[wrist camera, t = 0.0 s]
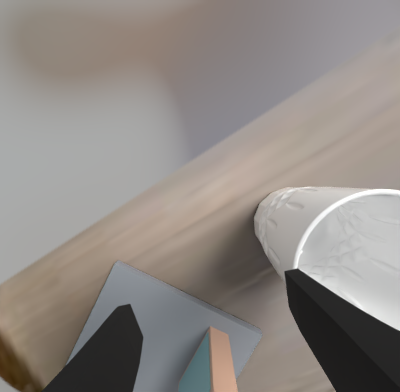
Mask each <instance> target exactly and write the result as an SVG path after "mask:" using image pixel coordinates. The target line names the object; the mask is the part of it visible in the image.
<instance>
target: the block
mask: <svg viewBox="0 0 400 392" xmlns="http://www.w3.org/2000/svg"><path fill="white" fill-rule="evenodd" d="M178 392H238V391H237V385H236V379H235V373H234V367H233V360H232V354H231V348H230V342H229V336H228V334H226V333H224V332H222V331H220V330H218V329H215V328H213V327H211V326H210V327H209V329H208V331H207V333H206V335H205V336H204V338H203V340H202V342H201V343H200V345H199V347H198V349H197V351H196V352H195V354H194V356H193V358H192V360H191V361H190V363H189V365H188V367H187V368H186V370H185V372H184V374H183V376H182V377H181V379H180V381H179V383H178Z"/></svg>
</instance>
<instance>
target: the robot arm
mask: <svg viewBox="0 0 400 392" xmlns="http://www.w3.org/2000/svg"><path fill="white" fill-rule="evenodd" d="M284 273H285V281H286V288H287V296H288V303H289V308H290V310H291V313H292V315H293V317H294V319H295V321H296V323H297V325H298V327H299V330H300V332H301V333H302V335H303V337H304V338H305V340H306V342H307V343H308V345H309V347H310V348H311V350H312V352H313V354H314V355H315V357H316V359H317V360H318V362H319V364H320V365H321V367H322V369H323V370H324V372H325V374H326V375H327V377H328V379H329V380H330V382H331V384H332V385H333V387H334V389H335V390H336V392H400V331H399V330H397V329H395V328H393V327H391V326H389V325H388V324H386V323H384V322H382V321H380V320H378V319H377V318H375V317H373V316H371V315H370V314H368V313H366V312H364V311H363V310H361V309H359V308H358V307H356V306H354V305H353V304H351V303H349V302H348V301H346V300H345V299H343V298H342V297H340V296H338V295H337V294H335V293H334V292H332V291H331V290H329V289H328V288H326V287H325V286H323V285H322V284H320V283H319V282H317V281H316V280H314V279H313V278H311V277H310V276H308V275H307V274H305V273H304V272H302V271H301V270H299V269H298V268H297V269H292V270H287V271H284ZM142 345H143V335H142V332H141V330H140V327H139V324H138V322H137V319H136V317H135V314H134V312H133V309H132V307H131V304H126V305H122V306H118V307H117V308H116V309H115V310H114V311H113V312H112V313H111V314H110V315H109V317H108V318H107V319H106V320H105V321H104V322H103V324H102V325H101V326H100V327H99V328H98V329H97V331H96V332H95V333H94V334H93V335H92V336H91V338H90V339H89V340H88V341H87V342H86V343H85V345H84V346H83V347H82V348H81V349H80V350H79V352H78V353H77V354H76V355H75V356H74V357H73V358H72V359H71V360H70V362H69V363H68V364H67V365H66V366H65V367H64V368H63V369H62V370H61V371H60V372H59V374H58V375H57V376H56V377H55V378H54V379H53V380H52V381H51V382H50V383H49V384H48V385H47V386H46V388H45V389H44V390H43V391H42V392H133V389H134V385H135V381H136V377H137V373H138V369H139V365H140V359H141V352H142Z"/></svg>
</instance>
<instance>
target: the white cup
mask: <svg viewBox="0 0 400 392" xmlns="http://www.w3.org/2000/svg"><path fill="white" fill-rule="evenodd" d="M254 228H255V235H256V236H257V238H258V240H259V241H260V243H261V245H262V246H263V250H264V252H265V253H266V255H267V257H268V259H269V261H270V262H271V264H272V265H273V267H274V268H275V270H276V271H277V273H278V274H279V276H280V278H281V279H282V281H283V282H284V284H285V285H286V281H285V273H284V271H287V270H292V269H297V268H298V269H299V270H301V271H302V272H304V273H305V274H307V275H308V276H310V277H311V278H313V279H314V280H316V281H317V282H319V283H320V284H322V285H323V286H325V287H326V288H328V289H329V290H331V291H332V292H334V293H335V294H337V295H338V296H340V297H342V298H343V299H345V300H346V301H348V302H349V303H351V304H353V305H354V306H356V307H358V308H359V309H361V310H363V311H364V312H366V313H368V314H370V315H371V316H373V317H375V318H377V319H378V320H380V321H382V322H384V323H386V324H388V325H389V326H391V327H393V328H395V329H397V330H399V331H400V191H398V190H391V189H367V188H344V187H300V188H292V187H286V188H283V189H280V190H277V191H274V192H271V193H270V194H269V195H268V196H267V197H266V198H265V199H264V200H263V201H262V202H261V203H260V204H259V206H258V209H257V211H256V214H255V216H254Z"/></svg>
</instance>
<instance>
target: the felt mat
mask: <svg viewBox="0 0 400 392" xmlns="http://www.w3.org/2000/svg"><path fill="white" fill-rule="evenodd" d="M126 304H131V307H132V309H133V312H134V314H135V317H136V319H137V322H138V324H139V327H140V330H141V332H142V335H143V345H142V352H141V359H140V365H139V369H138V373H137V377H136V381H135V385H134V389H133V392H178V383H179V381H180V379H181V377H182V376H183V374H184V372H185V370H186V368H187V367H188V365H189V363H190V361H191V360H192V358H193V356H194V354H195V352H196V351H197V349H198V347H199V345H200V343H201V342H202V340H203V338H204V336H205V335H206V333H207V331H208V329H209V327H210V326H211V327H213V328H215V329H218V330H220V331H222V332H224V333H226V334H228V336H229V342H230V348H231V354H232V360H233V367H234V373H235V379H237V377H238V376H239V374H240V372H241V371H242V369H243V367H244V366H245V364H246V362H247V360H248V359H249V357H250V355H251V354H252V352H253V350H254V349H255V347H256V345H257V344H258V342H259V340H260V339H261V337H262V332H261V330H260V329H259V328H257V327H255V326H253V325H251V324H249V323H247V322H245V321H243V320H240V319H238V318H236V317H234V316H232V315H230V314H228V313H226V312H224V311H222V310H220V309H218V308H216V307H214V306H212V305H210V304H208V303H205V302H203V301H201V300H199V299H197V298H195V297H193V296H191V295H189V294H187V293H185V292H183V291H181V290H179V289H177V288H175V287H173V286H170V285H168V284H166V283H164V282H162V281H160V280H158V279H156V278H154V277H152V276H150V275H148V274H146V273H144V272H142V271H140V270H138V269H135V268H133V267H131V266H129V265H127V264H125V263H123V262H121V261H119V260H118V261H117V262H116V263H115V264H114V266H113V268H112V270H111V272H110V275H109V277H108V279H107V281H106V283H105V285H104V287H103V289H102V291H101V293H100V295H99V297H98V299H97V301H96V303H95V306H94V308H93V310H92V312H91V314H90V316H89V318H88V320H87V322H86V324H85V326H84V328H83V330H82V332H81V334H80V337H79V339H78V341H77V343H76V345H75V347H74V349H73V351H72V353H71V355H70V357H69V359H68V361H67V363H66V365H67V364H68V363H69V362H70V360H71V359H72V358H73V357H74V356H75V355H76V354H77V353H78V352H79V350H80V349H81V348H82V347H83V346H84V345H85V343H86V342H87V341H88V340H89V339H90V338H91V336H92V335H93V334H94V333H95V332H96V331H97V329H98V328H99V327H100V326H101V325H102V324H103V322H104V321H105V320H106V319H107V318H108V317H109V315H110V314H111V313H112V312H113V311H114V310H115V309H116V308H117V307H118V306H122V305H126ZM66 365H65V366H66Z"/></svg>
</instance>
